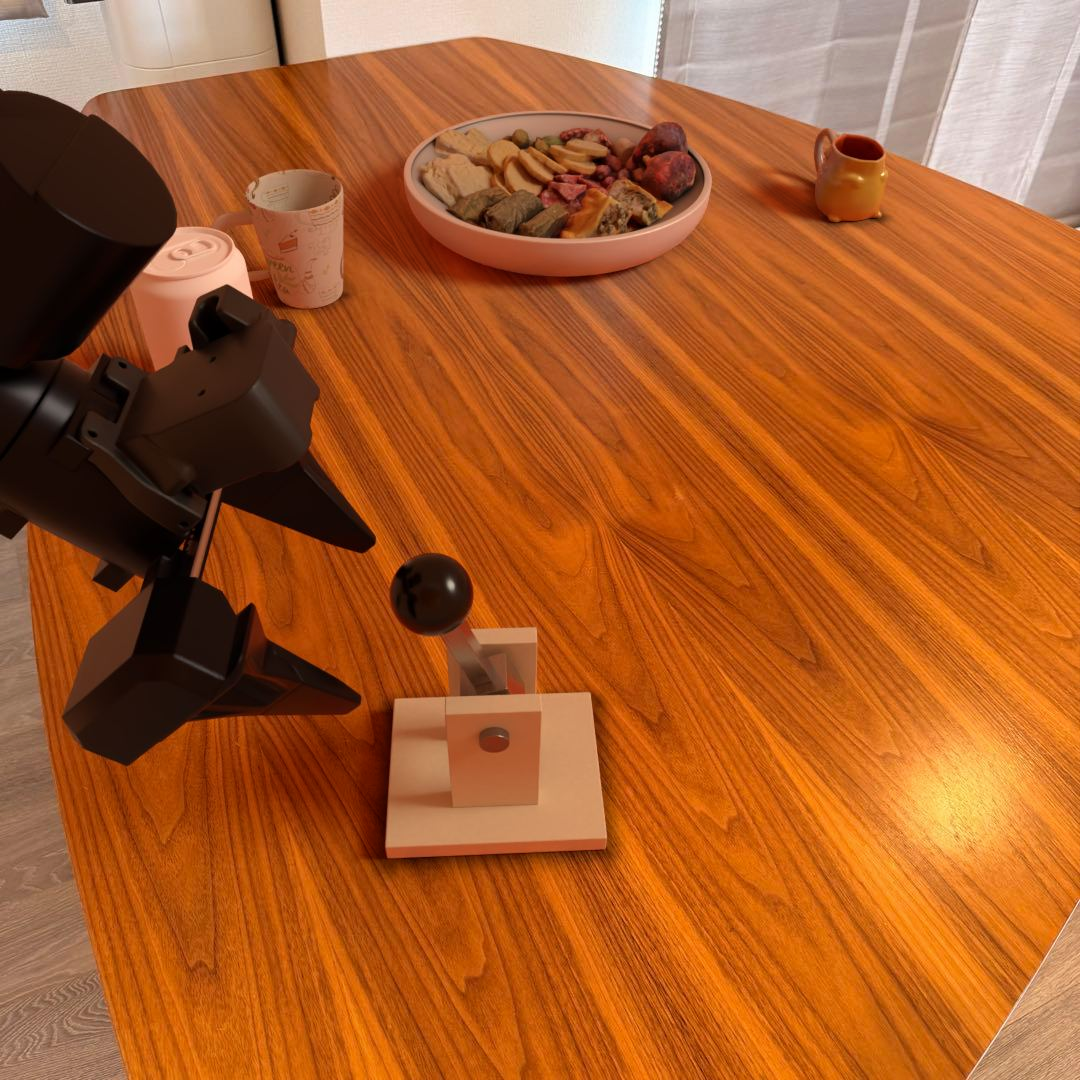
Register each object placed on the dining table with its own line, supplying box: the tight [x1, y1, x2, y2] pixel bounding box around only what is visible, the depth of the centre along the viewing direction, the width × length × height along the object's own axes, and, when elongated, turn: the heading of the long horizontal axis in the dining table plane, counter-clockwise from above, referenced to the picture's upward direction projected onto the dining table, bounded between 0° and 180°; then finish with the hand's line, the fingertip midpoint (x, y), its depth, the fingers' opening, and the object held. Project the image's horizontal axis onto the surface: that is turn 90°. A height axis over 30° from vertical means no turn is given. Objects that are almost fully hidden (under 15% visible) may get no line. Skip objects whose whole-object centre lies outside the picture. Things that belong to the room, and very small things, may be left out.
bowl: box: [403, 109, 713, 278], centre depth 96 cm, size 30×30×8 cm
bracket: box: [384, 626, 608, 859], centre depth 49 cm, size 11×9×9 cm
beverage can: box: [129, 226, 254, 372], centre depth 72 cm, size 8×8×12 cm
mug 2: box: [813, 127, 889, 223], centre depth 100 cm, size 12×7×7 cm, turn 10°
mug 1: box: [209, 168, 344, 310], centre depth 83 cm, size 8×12×10 cm, turn 105°
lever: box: [388, 552, 525, 696], centre depth 44 cm, size 11×4×4 cm
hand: (363, 620), depth 43 cm, fingers open, 9 cm apart
